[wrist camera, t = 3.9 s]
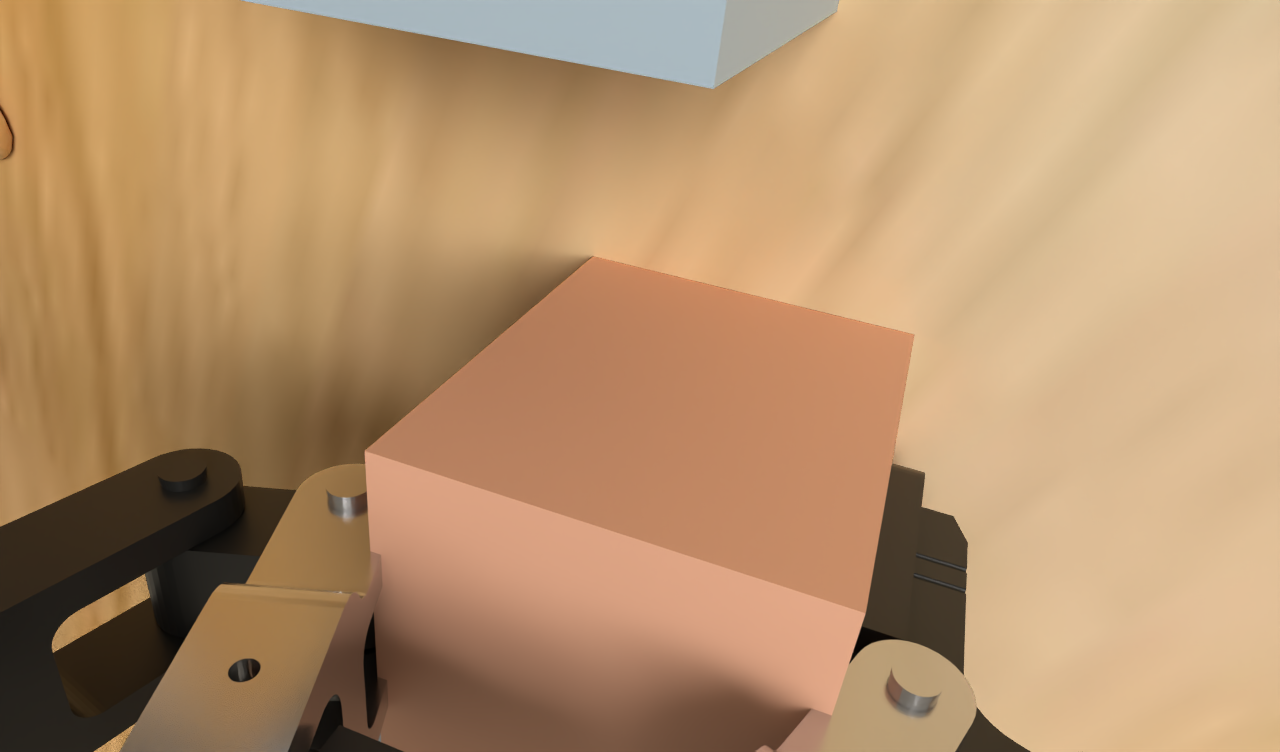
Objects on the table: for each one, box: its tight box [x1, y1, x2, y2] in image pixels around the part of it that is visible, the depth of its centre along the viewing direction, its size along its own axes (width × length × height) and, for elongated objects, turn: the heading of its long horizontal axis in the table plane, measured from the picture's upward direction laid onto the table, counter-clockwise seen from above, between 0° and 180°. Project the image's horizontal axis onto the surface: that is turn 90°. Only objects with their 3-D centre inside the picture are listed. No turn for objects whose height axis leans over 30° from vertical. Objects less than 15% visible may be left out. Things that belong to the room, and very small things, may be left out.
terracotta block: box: [365, 256, 914, 752], centre depth 12 cm, size 5×5×6 cm
